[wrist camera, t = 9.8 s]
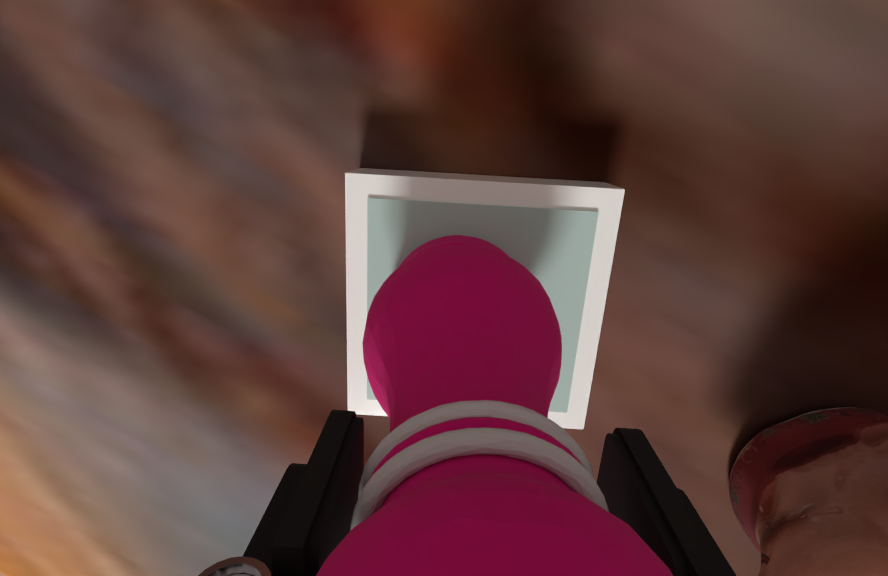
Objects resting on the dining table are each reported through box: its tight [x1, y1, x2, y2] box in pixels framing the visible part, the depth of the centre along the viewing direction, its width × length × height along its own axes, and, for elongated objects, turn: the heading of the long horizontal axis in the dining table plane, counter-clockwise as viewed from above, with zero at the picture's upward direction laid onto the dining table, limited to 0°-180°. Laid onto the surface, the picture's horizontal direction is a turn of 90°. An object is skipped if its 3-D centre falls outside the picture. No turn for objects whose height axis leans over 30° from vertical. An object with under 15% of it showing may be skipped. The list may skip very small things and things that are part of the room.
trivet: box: [345, 168, 625, 429], centre depth 23 cm, size 12×12×3 cm
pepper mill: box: [316, 235, 673, 576], centre depth 12 cm, size 7×7×20 cm
